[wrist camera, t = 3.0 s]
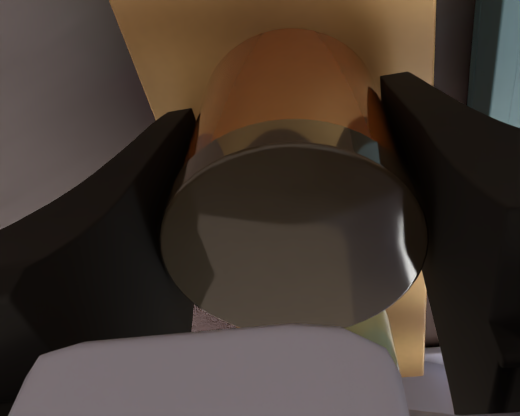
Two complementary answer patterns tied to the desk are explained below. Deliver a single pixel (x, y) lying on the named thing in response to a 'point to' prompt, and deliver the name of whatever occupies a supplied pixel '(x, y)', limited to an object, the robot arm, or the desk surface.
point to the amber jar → (293, 191)
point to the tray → (496, 60)
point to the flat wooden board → (273, 18)
